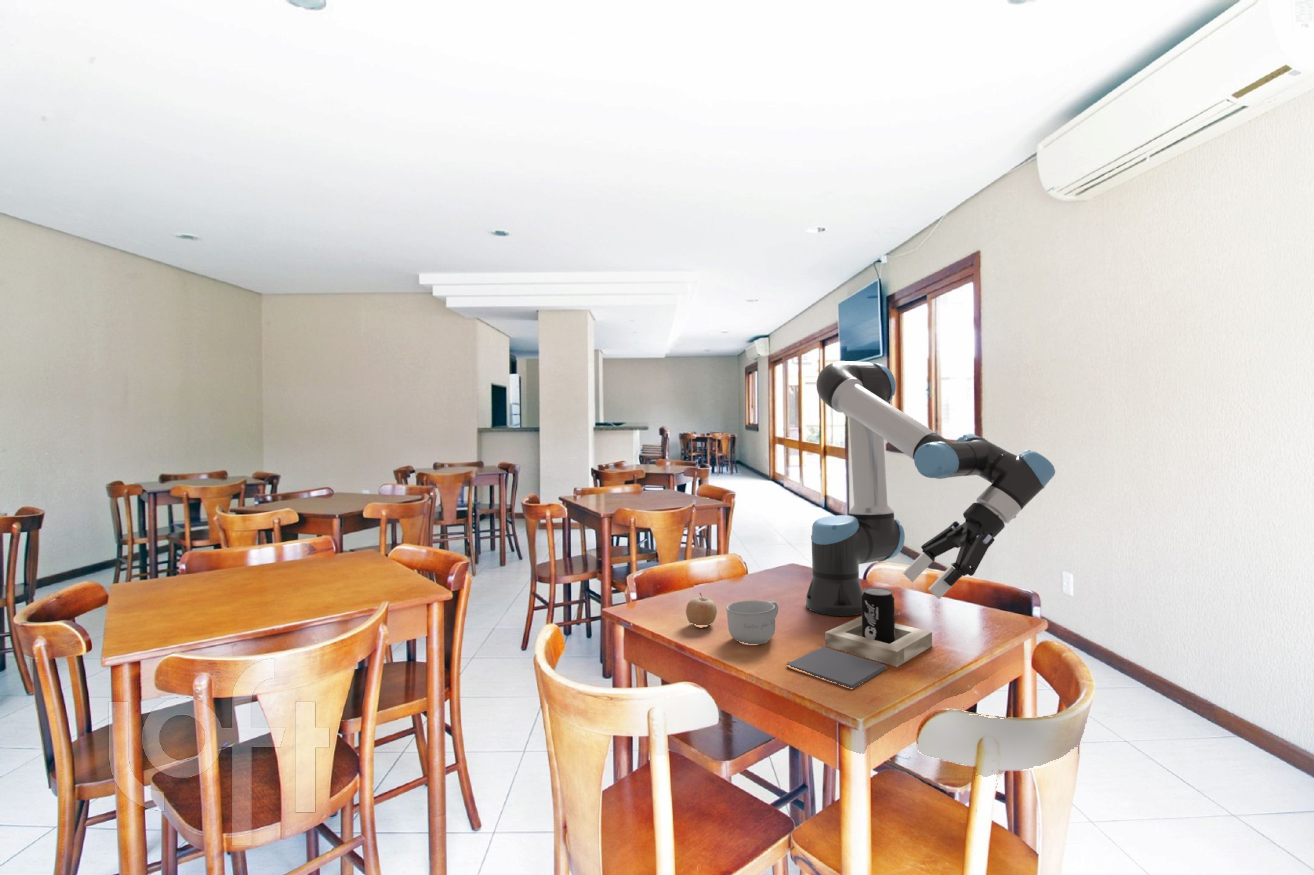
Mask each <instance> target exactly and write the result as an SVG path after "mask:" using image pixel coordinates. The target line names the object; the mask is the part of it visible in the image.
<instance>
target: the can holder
mask: <svg viewBox="0 0 1314 875" xmlns="http://www.w3.org/2000/svg"><path fill="white" fill-rule="evenodd" d="M825 645H826V646H828V647H827V648H830V647H832V648H831V649H833V648H836V649H835V650H837V649H838V650H837V651H840V650H842V651H841V652H844V651H846V652H845V653H847V652H848V653H847V654H851V653H852V654H851V655H854V654H855V655H854V656H857V657H860V658H864V657H865V658H864V659H867V660H871V661H874V662H878V661H879V662H878V663H881V664H884V665H890V666H892V665H893V667H896V668H897V667H899V666H901V665H903V664H904V663H906V662H908V661H909V660H911V659H913V658H915V657H916V656H918V655H919V654H921V653H923V652H925V651H926V650H927V649H930V648H931V647H933V632H932V631H929V630H926V629H921V628H916V627H913V626H908V625H904V624H900V623H897V622H895V641H894V642H892V643H890V644H888V643H884V642H880V641H876V640H873V639H869V638H865V637H862V615H860V616H858V617H856V618H853V620H849V621H847V622H845V623H843V624H840V625H838V626H836V627H834V628H831V629H830V630H826V631H825V632H824V646H825ZM826 646H825V647H826Z"/></svg>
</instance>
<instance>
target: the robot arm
mask: <svg viewBox="0 0 1314 875" xmlns="http://www.w3.org/2000/svg"><path fill="white" fill-rule="evenodd" d="M896 385H897V384H896V379H895V376H894V375H893V372H892V371H891V370H890V369H889V368H888V367H887V366H886V365H884V364H881V363H877V362H876V363H875V362H872V361H845V360H838V361H833V362H831V363H829V364H827V365H826V366H825V367H823V368H822V370H820V372H819V374H818V375H817V380H816V391H817V393H818V396H819V398H820V399H821V401H823V402H824V403H825V404H826V405H827V406H828V407H830V408H831V409H833V410H834V411H835V412H837V413H843V414H844V415H845V416H846V417H847V418H848V419H849V420H848V421H849V436H850V437H849V438H850V439H849V440H850V454H851V455H850V456H851V473H852V475H851V476H852V490H853V491H852V492H853V493H852V494H853V506H852V507H851V509H850V510H849V511H848V515H843V514H842V515H841V514H838V515H830V516H824V517H820V518H818V519H816V520H815V521H814V522H813V523H812V526H811V559H812V560H811V562H812V563H811V564H812V565H811V567H812V569H811V573H812V578H811V581H810V583H809V587H808V590H807V593H806V596H805V607H806V606H807V607H806V608H807V609H808V608H809V609H811V610H812V611H811V610H810V611H811V612H814V611H815V612H814V613H817V614H820V613H821V615H825V614H827V616H835V617H850V616H858V615H862V595H863V593H864V589H863V588H862V584H861V581H860V573H859V572H860V571H859V569H860V568H859V566H860V565H861V564H862V565H863V564H870V563H875V562H884V561H887V560H889V559H893V558H895V557H896V556H898V555H899V554H900V552H901V551H902V549H903V547H904V545H905V540H906V538H905V537H906V535H905V529H904V527H903V525H902V524H901V522H900V521H899V520H898V519H897V518H895V511H894V510H893V509H892V508H891V507H890V506H889V505H888V495H887V494H888V491H887V488H888V487H887V473H886V458H885V457H886V456H885V442H884V441H886V442H888V443H889V444H890V445H892V446H893V447H894V448H896V449H897V450H899V451H900V452H902V453H903V454H904V455H906V456H908V457H909V458H911V459H912V460H913V461H914V462H913V464H914V466H915V468H916V469H917V472H919V474H920V475H921V476H923V477H926V478H929V479H937V480H938V479H939V480H942V479H947V478H957V477H969V476H970V477H971V476H978V477H980V478H981V479H984V480H986V481H987V482H989V483H991V484H989V486H988V487H987V488H986V489H984V491H983V492H982V493H981V494H980V495H979V496H978V497H977V498H976V502H973V503H971V505H970V506H969V507H968V508H967V509H965V510H964V511H963V513H962V515H963V518H964V520H965V521H964V522H963V523H962V524H960V522H958V521H953V522H952V523H951V524H950V525H949V526H948V527H947V528H945V529H944V530H942V531H941V532H940V533H938V534H936V536H934V537H932V538H931V539H930V540H928V541H927V542H925V543H923V544H922V545H921V547H920V548H921V549H922V551H921V553H920V554H919V555H918V557H916V558H915V559H914V560H913V561H912V562H911V563H910V565H909V566H907V568H906V569H905V570H904V571H903V572H902V574H903V575H904V576H905V577H906V578H907V579H908V580H910V582H912V583H913V582H914V581H916V579H917V578H918V577H919V576H920V575H921V574H922V573H923V572H924V571H925V570H926V569H927V568H928V567H929V566H930V565H931V564H932V563H933V562H935V560H936V557H937V558H938V556H941V555H943V554H944V553H947V552H949V551H951V550H952V549H955V548H956V549H959V551H958V554H957V556H956V559H955V561H954V562H953V563H951V564H950V566H949V567H948V568H947V569H946V570H945V571H944V572H943V573H942V574H941V575H940V576H939V577H938V578H937V579H936V580H935V581H934V582H933V583H932V584H931V585H930V586H929V587H928V588H927V590H928V591H929V592H930V593H932V595H933V596H934V597H936V599H938V600H940V599H941V598H943V596H945V595H946V593H947V592H948V591H949V590H950V589H951V588H952V587H953V586H954V585H955V584H956V583H957V582H958V581H959V580H960V579H962V577H965V576H967V575H968V576H970V577H971V576H972V577H973V576H974V575H975V573H976V572H977V569H978V567H979V566H980V565H981V562H982V561H983V558H984V557H985V555H986V553H987V551H988V550H989V547H990V546H992V544H993V543H994V542H995V538H996V536H998V535H999V534H1000V533H1001V532H1002V531H1003V530H1004V529H1005V525H1006V524H1009V523H1010V522H1011V521H1012V520H1013V519H1016V518H1017V515H1018V514H1019V513H1020V512H1021V511H1022V510H1023V509H1024V508H1025V507H1026V506H1027V505H1028V504H1029V503H1030V501H1031V500H1033V499H1034V497H1036V496H1037V495H1038V494H1039V493H1040V492H1041V491H1042V490H1044V489H1045V488H1046V486H1047V484H1048V483H1049V482H1050V481H1051V480H1052V479H1053V477H1054V476H1055V474H1056V469H1055V465H1053V463H1052V462H1051V461H1050V460H1049V459H1048V458H1047V457H1045V456H1043V455H1042V454H1041V453H1039V452H1037V451H1034V450H1030V449H1026V450H1024V451H1022V452H1021V453H1019V454H1018V455H1016V454H1014V453H1011V452H1009V451H1007V450H1006V449H1003V448H1002V447H1000V446H998V445H996V444H994V443H992V442H990V441H989V440H988V439H986V438H984V437H981V436H978V435H976V434H974V433H965V434H963V435H962V436H959V437H958V438H957V439H956V440H955V441H950V440H948V439H946V438H944V437H943V436H941V435H939V433H937V432H935V431H934V430H932V429H931V428H929V427H927V426H926V425H924V424H922V423H921V422H919V421H918V420H917V419H915V418H913V417H911V416H909V415H908V414H907V413H905V412H903V411H901V410H900V409H899V408H897V407H895V406H894V405H892V404H890V402H891V401H892V399H893V396H895V394H896V389H897V386H896ZM809 609H808V610H809Z"/></svg>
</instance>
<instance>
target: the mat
mask: <svg viewBox="0 0 1314 875" xmlns="http://www.w3.org/2000/svg"><path fill="white" fill-rule="evenodd" d="M786 665H790V666H791V667H794V668H797V669H799V670H802V671H805V672H807V673H810V674H812V675H814V676H818V677H820V678H824V679H826V680H829V681H832V682H836V683H837V684H840V685H844V686H846V687H849V688H854V687H855V688H857V687H858V686H857V685H859V684H860V685H862V684H863V683H862V682H864V683H865V682H867V681H869V680H871V679H872V678H874V677H875V676H877V675H879V674H881V673H882V672H884V671H885V670H887V664H885V663H882V662H878V661H875V660H871V659H868V658H864V657H861V656H858V655H854V654H851V653H847V652H844V651H840V650H837V649H833V648H830V647H826V646H822V647H819V648H816V649H815V650H813V651H810V652H808V653H806V654H805V655H804V654H803V655H802V656H800V657H798V658H796V659H793V660H791V661H790V662H787V663H786ZM883 670H884V671H883ZM881 671H882V672H881ZM880 672H881V673H880ZM873 676H874V677H873ZM868 679H869V680H868ZM861 683H862V684H861ZM860 685H859V686H860ZM856 686H857V687H856ZM855 688H854V689H855Z"/></svg>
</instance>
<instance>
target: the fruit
mask: <svg viewBox="0 0 1314 875" xmlns="http://www.w3.org/2000/svg"><path fill="white" fill-rule="evenodd" d="M699 595H700V596H696V597H694V598H692V599H690V600H689V601H688V603H687V605H686V607H685V615H686V619H687V621H688V623H689V624H690V623H693V624H696V625H709V624H711V623H712V624H713V623H714V622H715V620H716V618H717V614H718V608H717V605H716V603H715V602H714V601H713V599H710V597H705V596H702V593H701V592H699ZM712 624H711V625H712Z"/></svg>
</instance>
